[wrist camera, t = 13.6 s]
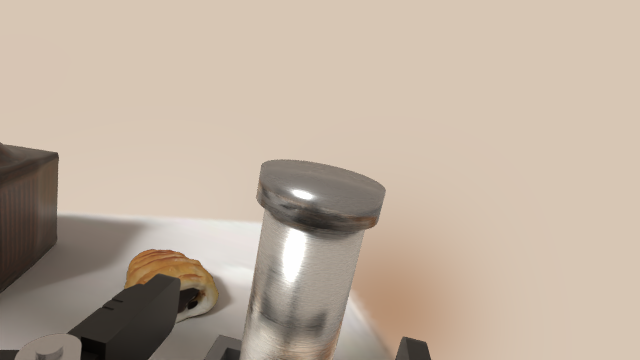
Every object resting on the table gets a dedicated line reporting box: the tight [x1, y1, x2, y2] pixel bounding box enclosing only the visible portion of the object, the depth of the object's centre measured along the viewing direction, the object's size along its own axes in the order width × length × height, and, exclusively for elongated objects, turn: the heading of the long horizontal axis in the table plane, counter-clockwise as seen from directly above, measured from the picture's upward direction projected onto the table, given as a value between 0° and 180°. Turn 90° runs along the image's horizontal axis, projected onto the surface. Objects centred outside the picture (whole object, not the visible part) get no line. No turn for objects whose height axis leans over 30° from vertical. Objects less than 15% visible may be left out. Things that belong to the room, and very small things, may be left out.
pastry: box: [124, 249, 219, 323], centre depth 30 cm, size 9×7×4 cm
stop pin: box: [239, 160, 386, 360], centre depth 15 cm, size 5×5×15 cm
